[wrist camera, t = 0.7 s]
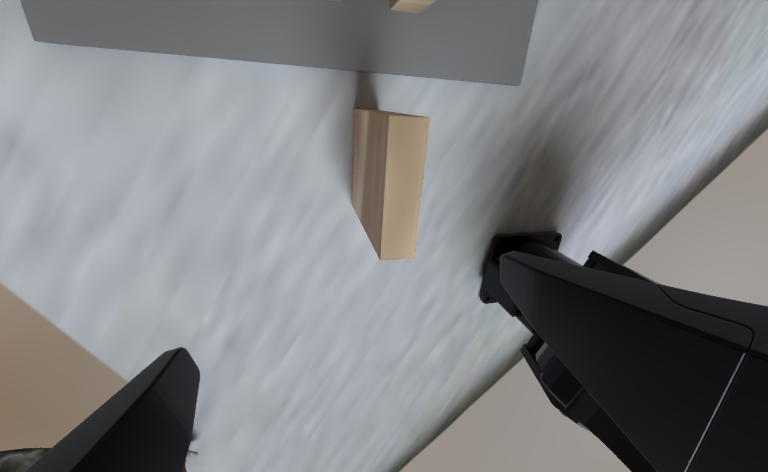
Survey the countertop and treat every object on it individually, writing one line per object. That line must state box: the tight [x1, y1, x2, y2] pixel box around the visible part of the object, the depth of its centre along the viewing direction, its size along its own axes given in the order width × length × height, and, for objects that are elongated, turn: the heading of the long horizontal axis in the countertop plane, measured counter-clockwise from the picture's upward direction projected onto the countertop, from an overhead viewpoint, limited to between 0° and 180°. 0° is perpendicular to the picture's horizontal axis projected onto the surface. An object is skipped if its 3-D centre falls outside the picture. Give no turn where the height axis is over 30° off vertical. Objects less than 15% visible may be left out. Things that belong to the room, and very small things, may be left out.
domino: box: [352, 109, 430, 261], centre depth 16 cm, size 2×6×8 cm, turn 177°
